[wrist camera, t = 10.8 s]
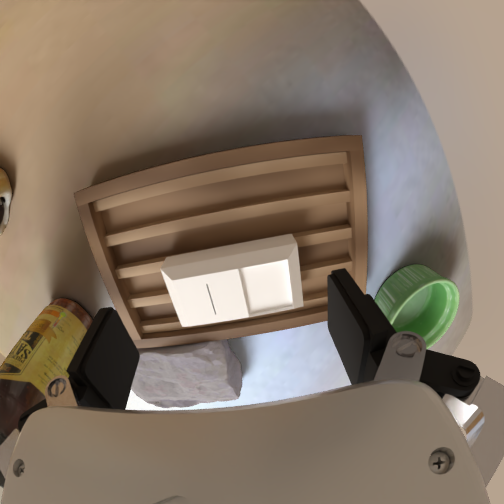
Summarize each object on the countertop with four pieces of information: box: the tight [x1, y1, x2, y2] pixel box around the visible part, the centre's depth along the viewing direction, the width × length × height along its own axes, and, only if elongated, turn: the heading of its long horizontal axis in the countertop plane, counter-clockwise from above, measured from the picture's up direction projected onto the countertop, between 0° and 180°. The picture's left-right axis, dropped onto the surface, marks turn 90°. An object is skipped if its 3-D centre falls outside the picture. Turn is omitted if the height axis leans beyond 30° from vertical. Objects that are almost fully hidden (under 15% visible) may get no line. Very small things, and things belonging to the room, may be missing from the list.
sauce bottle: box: [0, 298, 93, 488], centre depth 14 cm, size 6×6×20 cm
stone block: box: [131, 339, 242, 408], centre depth 25 cm, size 12×5×10 cm
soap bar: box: [160, 234, 303, 327], centre depth 19 cm, size 5×9×3 cm, turn 100°
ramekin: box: [374, 264, 459, 349], centre depth 22 cm, size 9×9×4 cm
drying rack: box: [74, 135, 368, 348], centre depth 20 cm, size 14×20×2 cm
